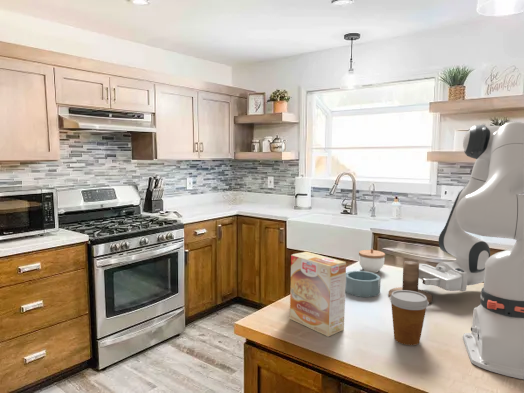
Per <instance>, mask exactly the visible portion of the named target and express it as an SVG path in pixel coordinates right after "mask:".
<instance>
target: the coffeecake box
mask: <svg viewBox="0 0 524 393" xmlns="http://www.w3.org/2000/svg"><path fill="white" fill-rule="evenodd" d="M346 273H347V262H346V261H343V260H339V259H337V258H333V257H328V256H324V255H321V254H318V253H313V252H310V251H303V252H302V251H301V252H298V253H293V254H291V255H290V291H289V292H290V297H289V298H290V299H289V300H290V301H289V303H290V304H289V305H290V306H289V320H291V321H293V322H296V323H298V324H300V325H302V326H305V327H307V328H309V329H311V330H313V331H315V332H317V333H318V334H322V335H323V336H326V337H331V336H334V335H335V334H337V333H340V332H343V331H344V330H345V313H346V312H345V310H346V308H345V306H346V291H345V284H346Z"/></svg>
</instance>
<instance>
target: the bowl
mask: <svg viewBox="0 0 524 393" xmlns="http://www.w3.org/2000/svg"><path fill="white" fill-rule="evenodd" d="M381 278H382V277H381V276H380V275H379V274H377V273H372V272H366V271H364V270H352V271H346V284H345V293H347V294H349V295H351V296H356V297H361V298H364V297H365V298H366V297H367V298H372V297H376V296H379V295H380V294H381V281H382V280H381Z"/></svg>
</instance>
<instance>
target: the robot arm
mask: <svg viewBox="0 0 524 393" xmlns="http://www.w3.org/2000/svg"><path fill="white" fill-rule="evenodd" d="M462 142H463V143H462V147H463V152H464V154H465V155H466V156H467V157H469V158H471V159H474V160H475V162H474V164H473V167H472V170H471V175H470V177H469V181H468V183H467V185H466V186H465V187H464V188H462V189H460V191H459V192H458V193H457V195H456V198H455V200H454V202H453V205H452V208H451V210H450V212H449V215H448V218H447V221H446V223H445V226H444V227H443V229H442V230H441V232H440V234H439V236H438V247H439V248H440V250H441V251H442V252H444V253H446V254H448V255H451V256H453V257H454V258H456V259H455V260H454V261H451V260H450V261H440V262H438V263H437V264H436V266H433V265H429V264H427V263H419V279H420V280H421V282H422V285H425V286H436V287H438V288H441V289H443V290H445V291H448V292H458V291H459V292H466V291H467V287H468V286H475V285H479V284H483V287H482V288H481V292H480V296H479V297H480V303H479V305H478V306H475V307H474V308H473V312H472V313H473V314H472V321H471V322H472V323H471V327H470V331H471V332H465V333H463V335H462V340H463V343H464V347H465V348H466V351H467V354H468V356H469V360H470V362H471V364H473V365H475V366H476V367H479V368H481V369H483V370H487V371H490V372H492V373H496V374H499V375H503V376H506V377H511V378H515V379H520V380H524V194H523V193H524V122H521V121H512V122H507V123H505V124H503V125H485V124H478V125H473V126H472V127H470V128H469V129H468V130H467V132H466V133H465V134H464V138H463V141H462ZM472 234H474V235H477V236H481V237H490V238H500V239H510V240H515V241H516V242H515V244H514V245H513V246H512V247H510V248H508V249H505V250H501V251H498V252H495V253H494V254H492V255H491V248H490V245H489V244H488V243H487V242H485V241H484V240H482V239H480V238H478V237H476V236H474V235H472Z"/></svg>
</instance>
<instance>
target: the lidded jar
mask: <svg viewBox="0 0 524 393" xmlns="http://www.w3.org/2000/svg"><path fill="white" fill-rule="evenodd" d="M385 257H386V253H385V252H383V251H380V250H374V249H373V248H370V249H363V250H362V249H361V250H359V251H358V262H359V266H360V267H361V268H362V270H363V271H366V272H372V273H375V274H377V273H379V271H380V270H382V269H383V267H384V265H385Z"/></svg>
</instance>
